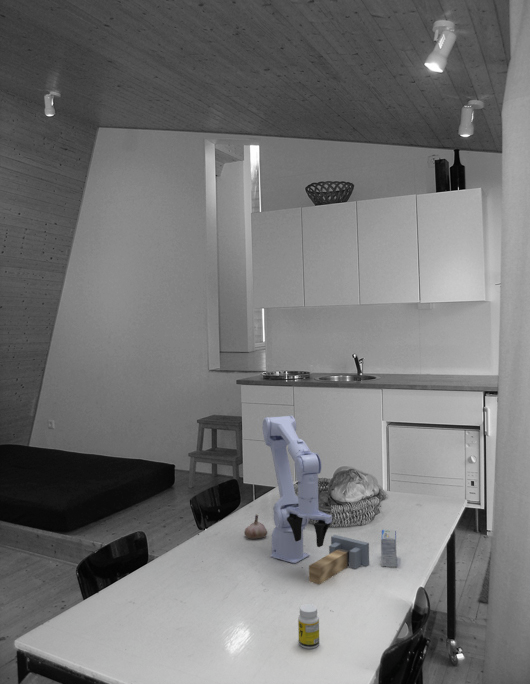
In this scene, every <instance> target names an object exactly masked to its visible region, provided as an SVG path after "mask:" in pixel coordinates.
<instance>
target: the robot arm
mask: <svg viewBox="0 0 530 684" xmlns="http://www.w3.org/2000/svg"><path fill="white" fill-rule="evenodd" d="M261 429H262V435H263V438H264V439H263V440H264V442H265V443H264V444H265V445H266V446H268V447H269V448H270V451H271V455H272V461H273V465H274V466H273V467H274V472H275V477H276V481H277V487H278V493H279V494H278V495H279V497H280V498H279V499H278V500H277V501H276V502H275V503H274V505H273V508H272V509H273V521H274V522H273V523H274V526H275V527H274V529H273V530H272V533H271V554H270V558H274V559H278V560H280V561H285V562H287V563H291V564H297V563H298V562H300V561H303V560H304V559H305V558H308V557H309V556H310V554H309V553H306V552H304V530H305V529H306V527H307V526H308V524H309V520H314V521H317V522H315V523H313V527H314V530H315V537H316V538H315V539H316V541H315V542H316V547H317V548H321V547H322V546H324V541H325V538H326V535H327V531H328V529H329V527H330V526H331V523H332V522H333V516H332V514H328V513H327V512H326V513H325V512H324V511H321V510H319V474H321V471H322V460H321V457H320V455H319V454H318V453H316V452H312V451H311V449H310V447H309V446H308V444H307V442H305V440H304V439H300V437H299V436H298V434H297V432H296V431H297V422H296V418H295V416H293V415H283V416H269V417H268V416H266V417H264V418H263V421H262V427H261ZM287 446H288V447H287ZM288 455H290V457H291V458H292V460H293V462H294V470H295V478H296V481H297V484H298V485H297V491H298V492H297V493H298V494H297V495H296V492H295V486H294V481H293V477H292V470H291V465H290V460H289V456H288Z"/></svg>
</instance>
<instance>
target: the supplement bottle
mask: <svg viewBox="0 0 530 684" xmlns="http://www.w3.org/2000/svg"><path fill="white" fill-rule="evenodd" d="M297 622H298V644H299V646H300V647H301V648H304V649H316V648H317V647H319V645H320V616H319V615H318V607H317V605H315V604H312V603H305V604H301V605H300V607H299V615H298V620H297Z"/></svg>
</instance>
